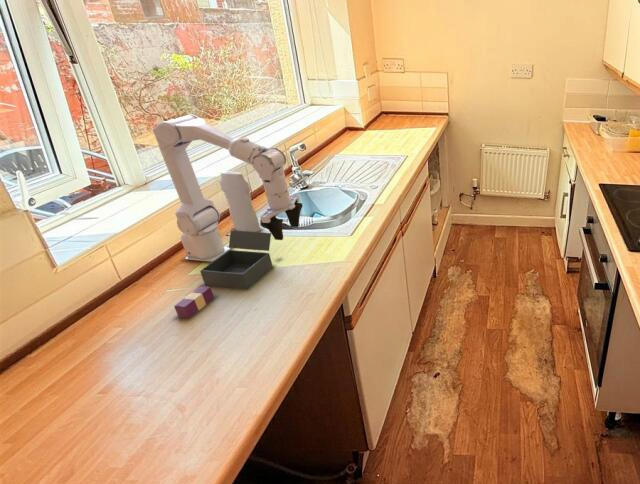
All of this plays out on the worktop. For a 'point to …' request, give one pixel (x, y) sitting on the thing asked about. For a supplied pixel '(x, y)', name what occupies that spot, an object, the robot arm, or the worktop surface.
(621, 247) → the worktop surface
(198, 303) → the chocolate
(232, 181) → the tall pale column
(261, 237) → the flap
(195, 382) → the worktop surface
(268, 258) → the carton
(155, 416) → the worktop surface
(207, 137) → the robot arm
